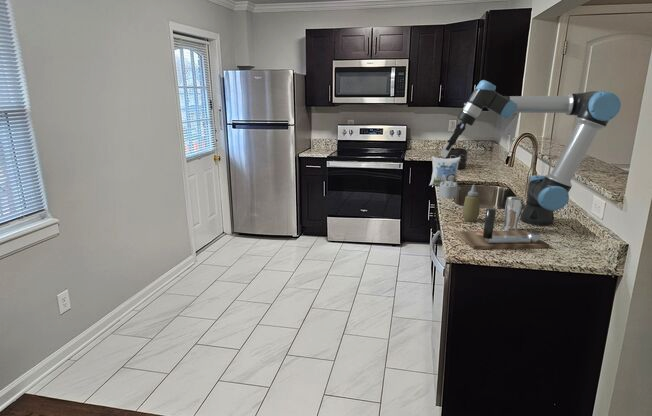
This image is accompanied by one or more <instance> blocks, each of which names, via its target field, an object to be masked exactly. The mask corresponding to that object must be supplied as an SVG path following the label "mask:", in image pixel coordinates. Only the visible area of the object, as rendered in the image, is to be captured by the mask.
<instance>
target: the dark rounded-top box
mask: <svg viewBox="0 0 652 416" xmlns="http://www.w3.org/2000/svg"><path fill="white" fill-rule="evenodd" d="M468 154H469V153H468V150H467V149H466V148H462V147H461V148H460V147H459V148H458V147H456V148H455V147H452V148H451V150H450V152H449V153H448V155H447V156H446V158H444V159H450V158H458V157H461V158H460V160H459V164H458V169H457V171H459V170H465V168H467V161H468Z"/></svg>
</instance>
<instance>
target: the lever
mask: <svg viewBox="0 0 652 416" xmlns="http://www.w3.org/2000/svg"><path fill="white" fill-rule="evenodd" d="M485 209H486V210H485V218H484V224H483V225H484V226H483V230H484V232H483V238H486V239H485V241H486V242H488V243H527V242H531V243H539V242H540V239H541V236H542V235H541V234H540V233H537V232H532V231H531V232H529V231H528V232H529V233H527V235H524V236H492V235H493V231H494V226H495V219H496V212H497V209H495V208H492V207H487V208H485Z"/></svg>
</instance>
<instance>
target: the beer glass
mask: <svg viewBox="0 0 652 416" xmlns="http://www.w3.org/2000/svg"><path fill="white" fill-rule="evenodd" d="M523 201H524V200H523V198H521V197H516V196H508V197H506V201H505V206H504V207H505V208H504V218H505V219H504V224H503V231H513V230H519V229H518V223H519V220H520V216H521V213H522V211H523V210H522V208H523Z"/></svg>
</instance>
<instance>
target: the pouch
mask: <svg viewBox="0 0 652 416" xmlns="http://www.w3.org/2000/svg"><path fill="white" fill-rule="evenodd" d="M431 158H432V174H431V180H430V183H429V185H428V186H434V185H440V183H441V182H442V181H443V182H444V181H453V182H456V183H457V184H458V179H457V178H458V170H457V169H458V164H459V160H460V158H461V157H458V158H450V159H445V158H444V157H440V158H439V157H436V156H431Z"/></svg>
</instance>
